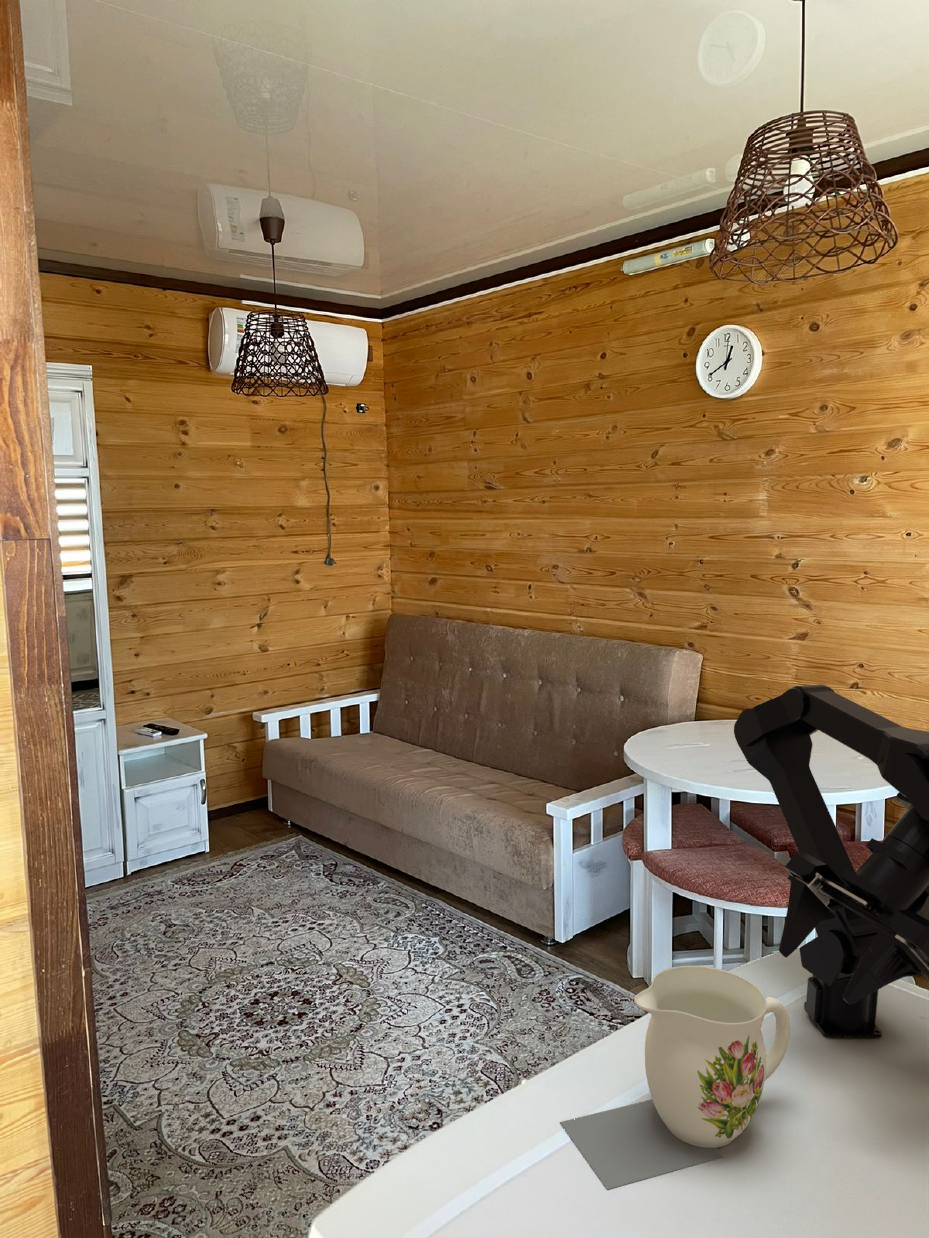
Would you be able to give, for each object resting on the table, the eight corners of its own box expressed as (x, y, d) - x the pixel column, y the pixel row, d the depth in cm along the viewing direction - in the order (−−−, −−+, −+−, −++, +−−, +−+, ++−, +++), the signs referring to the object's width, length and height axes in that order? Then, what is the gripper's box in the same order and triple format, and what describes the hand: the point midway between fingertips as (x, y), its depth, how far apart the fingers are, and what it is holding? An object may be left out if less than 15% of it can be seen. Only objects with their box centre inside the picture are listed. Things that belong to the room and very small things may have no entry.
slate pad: (667, 1104, 91) (668, 1094, 91) (723, 1166, 83) (724, 1155, 83) (559, 1131, 87) (559, 1121, 87) (606, 1199, 78) (607, 1189, 78)
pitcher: (823, 1134, 86) (835, 996, 84) (664, 1186, 79) (674, 1036, 77) (744, 1067, 96) (753, 942, 94) (596, 1108, 89) (603, 973, 87)
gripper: (1032, 944, 86) (929, 1076, 84) (882, 867, 103) (794, 975, 101) (974, 874, 82) (866, 1010, 80) (829, 807, 100) (737, 917, 97)
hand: (812, 976), depth 90 cm, fingers open, 9 cm apart
